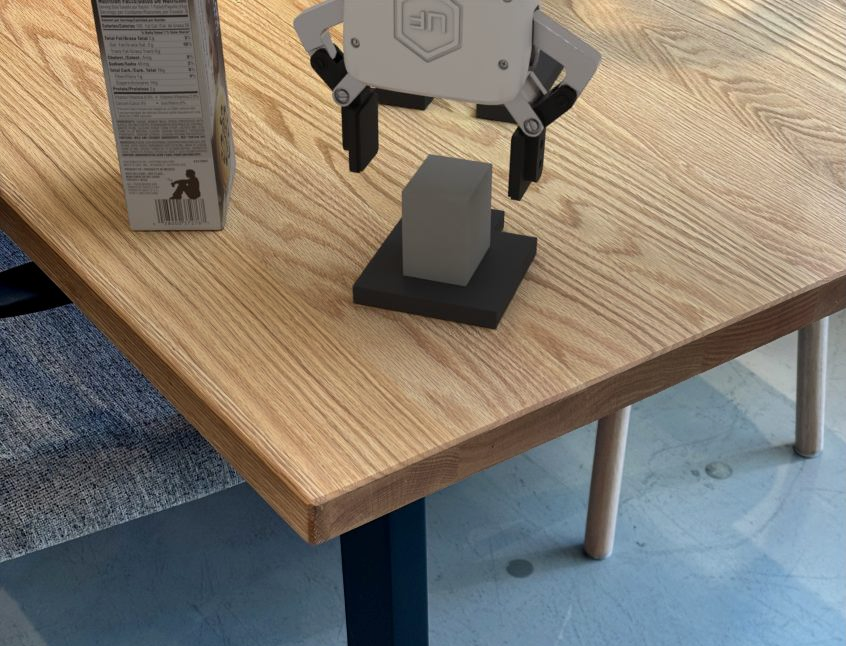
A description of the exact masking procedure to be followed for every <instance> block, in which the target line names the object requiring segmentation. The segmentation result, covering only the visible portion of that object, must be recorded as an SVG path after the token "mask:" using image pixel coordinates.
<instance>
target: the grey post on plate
mask: <svg viewBox="0 0 846 646" xmlns="http://www.w3.org/2000/svg"><path fill="white" fill-rule="evenodd" d="M492 189H493V163H491V162H485V161H478V160H472V159H465V158H459V157H452V156H446V155H439V154H433V153H429V154H428V155H427V156H426V158H425V159H424V160H423V161H422V163H421V164H420V165H419V167H418V169H417V170H416V171H415V172H414V174H413V175H412V176H411V178H410V180H409V181H408V182H407V183H406V185H405V186H404V188H403V189H402V191H401V216H400V218H399V220H398V221H397V223H396V224H395V226H393V228H392V229H391V231H390V232H389V234H388V235H387V237H386V238H385V239H384V241H383V242H382V244H381V245H380V246H379V248H378V249H377V251H376V252H375V254H374V255H373V257H372V258H371V259H370V261H369V262H368V263H367V265H366V266H365V267H364V269H363V271H362V272H361V273H360V275H358V277H357V279H356V280H355V281H354V283H353V284H352V286H351V287H352V303H354V304H358V305H363V306H369V307H375V308H380V309H385V310H390V311H397V312H402V313H408V314H411V315H412V314H413V315H418V316H423V317H429V318H435V319H438V320H439V319H440V320H444V321H451V322H456V323H461V324H467V325H472V326H477V327H484V328H487V329H488V328H489V329H494V330H496V329H497V328H498V326H499V324H500V322H501V320H502V319H503V317H504V315H505V313H506V311H507V310H508V307H509V305H510V303H512V300H513V298H514V296H515V295H516V293H517V291H518V289H519V287H520V286H521V283H522V281H523V280H524V278H525V276H526V275H527V272H528V270H529V269H530V267H531V265H532V263H533V260H534V259H535V257H536V256H537V253H538V237H537V236H531V235H527V234H526V235H525V234H519V233H515V232H507V231H503V229H504V228H505V217H506V216H505V215H506V214H505V210H502V209H495V208H492V194H493V193H492V191H493V190H492Z"/></svg>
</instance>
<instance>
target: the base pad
mask: <svg viewBox="0 0 846 646" xmlns="http://www.w3.org/2000/svg"><path fill="white" fill-rule="evenodd" d="M564 69H565V67H564V66H563V65H562V64H560V63H559V62H557V61H556V60H554V59H553V58H552V57H550V56H549V55H547V54H546V53H544V52H543V51H541V50H539V57H538V62H537V65H536V68H535V69H534V71H533V72H534V74H535V75H536V77H537V78H538V80H539V81H540V82H541V84H542V85H543V87H544V88H545V90H546V91H547V92H549V91H550V90H551V89H552V87H553V85H554V84H555V82H556V81H557V79H558V78H559V76H560V75H561V73H562V71H563V70H564ZM374 88H375V87H374ZM375 93H377V94H378V104H383V105H388V106H389V105H390V106H397V107H403V108H410V109H417V110H426V109H427V108H428V106H429V105H430V104H431V102H432V101H433V100H434V99H435V97H429V96H422V95H416V94H410V93H404V92H397V91H391V90H386V89H380V88H375ZM475 117H476V118H477V119H487V120H493V121H499V122H505V123H513V124H517V122H516V121H515V120H514V118H513V117H512V115H511V114H510V112H509V111H508V110H507V108H506V107H505V105H504V104H499V105H485V104H476V103H475Z"/></svg>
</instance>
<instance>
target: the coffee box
mask: <svg viewBox="0 0 846 646" xmlns="http://www.w3.org/2000/svg"><path fill="white" fill-rule="evenodd" d="M90 4H91V10H92V16H93V21H94V28H95V33H96V39H97V45H98V50H99V55H100V61H101V68H102V72H103V73H102V74H103V78H104V85H105V90H106V91H105V92H106V97H107V101H108V102H107V103H108V108H109V113H110V119H111V120H110V121H111V126H112V132H113V136H114V142H115V148H116V154H117V160H118V166H119V173H120V177H121V184H122V190H123V195H124V201H125V206H126V211H127V217H128V223H129V228H130V230H131V231H220V230H223V229H224V228H225V225H226V224H225V223H226V219H227V213H228V210H229V204H230V199H231V193H232V188H233V183H234V179H235V172H236V167H237V157H236V151H235V141H234V134H233V126H232V117H231V108H230V97H229V91H228V89H229V88H228V82H227V73H226V65H225V64H226V63H225V56H224V47H223V37H222V30H221V22H220V13H219V5H218V0H90Z"/></svg>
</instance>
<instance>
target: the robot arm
mask: <svg viewBox="0 0 846 646" xmlns="http://www.w3.org/2000/svg"><path fill="white" fill-rule="evenodd" d="M340 24H342V50H341V48H340V47H339V46H338V45H337V43H335V42H333V41H332V36H331V34H330V30H329V29H330V28H332V27H335V26H338V25H340ZM292 25H293V29H294V31H295V33H296V34H297V37H298V39H299V40H300V43H301V45H302V46H303V49H304V51H305V53H307V54H308V56H309V58H310V59H309V64H310V67H311V69H312V70H313V71H314V73H316V74H317V75H318V77H319V78H320V79H321V80H322V81H323V83H324V84H326V86H327V87H328V88H329V89H330V91H332V92H331V97H332V100H333V102H334V103H335V104H336V105H338V106H339V107H340V116H341V117H340V118H341V119H340V120H341V142H342V143H341V145H342V149H343V151H345V152H348V170H349V173H354V174H360V173H361V172H364V171H365V169H366V168H367V167H368V166H369V164H370V163H371V162H372V161H373V159H375V157H376V156H377V154H378V152H379V150H380V149H379V148H380V144H379V143H380V138H379V137H380V135H379V103H378V94H377V93H375V88H380V89H386V90H391V91H397V92H404V93H410V94H416V95H422V96H429V97H434V99H435V98H436V99H441V100H442V99H443V100H448V101H456V102H462V103H470V104H475V105H476V104H485V105H499V104H504V105H505V107H506V108H507V110H508V111H509V112H510V114H511V115H512V117H513V118H514V120H515V121H516V122H517V123H516V124H517V127H516V128H515V130H514V132H513V133H512V135H511V138H510V145H509V147H510V148H509V163H508V165H509V166H508V184H507V197H508V198H510V200H511V201H517V202H521V201H522V199H523V197H524V196H525V194H526V193H527V191H528V189H529V188H530V186H531V184H532V183H536V184H537V183H538V182H539V181H540V180H541V177H542V174H543V170H544V163H545V148H546V135H547V134H546V133H547V127H549V126H550V125H552V123H554V122H555V121H556V120H558V119H559V118H560V117H562V116H563V115H565V114H566V113H567V112H568V111H569V110H571V109H572V108H573V106H574V105H575V103H576V102H577V101H578V99H579V98H580V96H581V94H582V93H583V92H584V90H585V88H586V87H587V85H588V84H589V82H590V81H591V80H592V78H593V77H594V75H595V73H596V72H597V71H598V69H599V68H600V66H601V63H602V61H603V56H602V54H601V52H600V51H598V50H597V49H596V48H594V47H593V46H591V45H590V44H589V43H587V42H586V41H584V40H583V39H581V38H580V37H579V36H578V35H576V34H575V33H574V32H573V33H572V32H571V31H570V30H569V29H567V28H565V26H563V25H561V24H560V23H559V22H557V21H555V20H554V19H553V18H551V17H550V16H548V15H547V14H546V13H545V12H543V11H542V0H323V1H320V2H318V3H316V4H314V5H311V6H309V7H307V8H305V9H304V10H302V11H301V12H299V14H298V15H297V16H296V17H295V18H294V19H293V20H292ZM539 50H541V51H543V52H544V53H546V54H547V55H549V56H550V57H552V58H553V59H554V60H556V61H557V62H559V63H560V64H562V65H563V66H564V70H565V76H564V77H563V79H562V80H561V81H560V82H558V83H557V84H556V85H555V86H554V87H553V88H552V87H551V88H550V90H549V92H547V91H546V90H545V88H544V87H543V85H542V84H541V82H540V81H539V80H538V78H537V77H536V75H535V74H534V72H533V71H534V69H535V68H536V65H537V62H538V57H539Z"/></svg>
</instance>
